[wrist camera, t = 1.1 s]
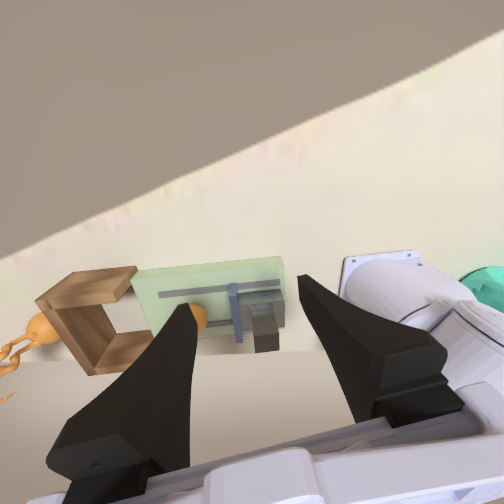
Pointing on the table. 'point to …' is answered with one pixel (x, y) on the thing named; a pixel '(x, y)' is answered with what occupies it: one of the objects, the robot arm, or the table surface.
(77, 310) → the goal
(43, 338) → the figurine
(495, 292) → the decorative dice
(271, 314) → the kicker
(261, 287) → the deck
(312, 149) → the table surface
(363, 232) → the table surface
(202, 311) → the ball
